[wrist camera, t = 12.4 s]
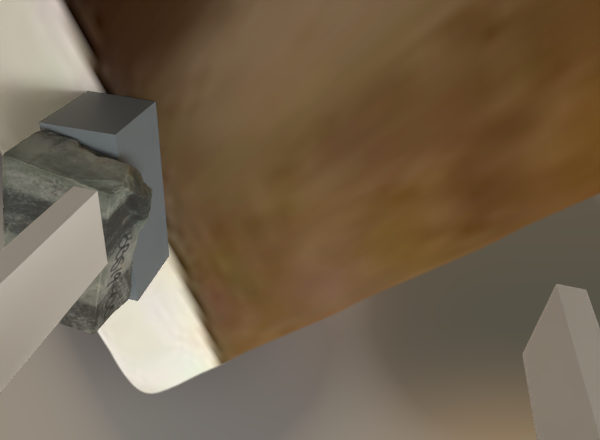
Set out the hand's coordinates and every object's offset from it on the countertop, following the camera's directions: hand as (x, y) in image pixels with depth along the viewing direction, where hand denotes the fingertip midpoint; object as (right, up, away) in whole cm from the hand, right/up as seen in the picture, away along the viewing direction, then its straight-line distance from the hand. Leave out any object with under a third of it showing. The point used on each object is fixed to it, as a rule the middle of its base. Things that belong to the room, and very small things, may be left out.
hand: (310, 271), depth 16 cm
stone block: (-17, +2, +28) cm, 33 cm away
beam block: (-15, +5, +34) cm, 37 cm away
